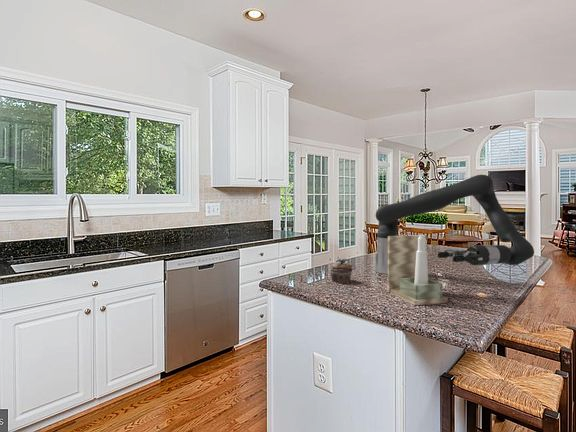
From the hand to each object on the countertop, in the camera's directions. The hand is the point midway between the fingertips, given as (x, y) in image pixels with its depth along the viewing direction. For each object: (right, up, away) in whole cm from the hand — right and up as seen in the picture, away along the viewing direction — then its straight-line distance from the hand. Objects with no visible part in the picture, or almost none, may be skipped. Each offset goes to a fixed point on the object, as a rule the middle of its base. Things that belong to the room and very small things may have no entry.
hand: (445, 256), depth 133 cm
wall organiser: (-10, -15, +1) cm, 18 cm away
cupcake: (-35, -14, +26) cm, 46 cm away
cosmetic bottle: (-10, -14, -2) cm, 17 cm away
